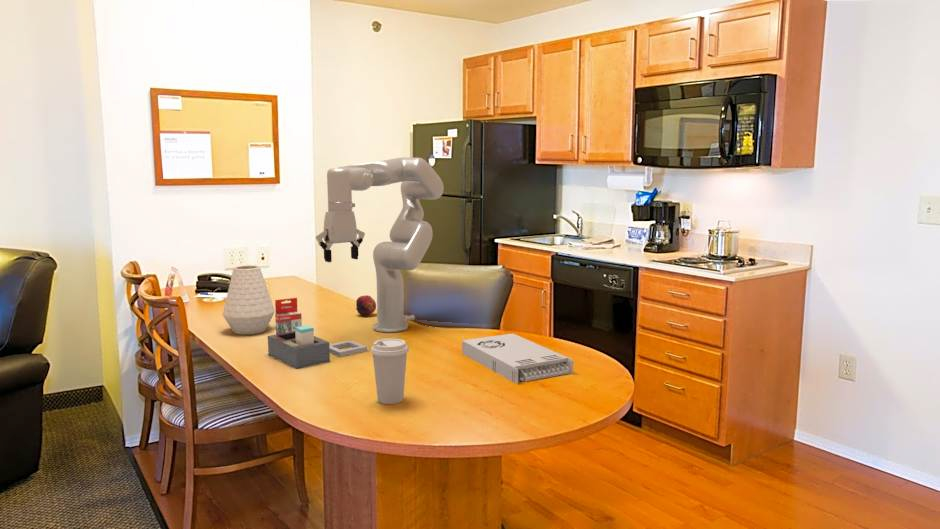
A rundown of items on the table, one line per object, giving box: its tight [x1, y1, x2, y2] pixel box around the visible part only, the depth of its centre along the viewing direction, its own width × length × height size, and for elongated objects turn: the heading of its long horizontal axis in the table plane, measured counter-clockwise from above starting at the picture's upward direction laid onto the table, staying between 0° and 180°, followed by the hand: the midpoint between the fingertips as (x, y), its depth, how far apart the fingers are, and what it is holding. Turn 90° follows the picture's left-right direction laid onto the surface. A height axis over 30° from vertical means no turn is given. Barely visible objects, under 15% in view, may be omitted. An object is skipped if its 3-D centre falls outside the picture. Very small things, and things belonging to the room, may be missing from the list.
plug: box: [295, 324, 315, 346], centre depth 200 cm, size 4×4×9 cm
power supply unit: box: [461, 333, 574, 385], centre depth 199 cm, size 19×33×5 cm, turn 28°
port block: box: [267, 331, 331, 370], centre depth 204 cm, size 11×19×6 cm, turn 41°
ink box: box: [274, 297, 303, 335], centre depth 221 cm, size 4×8×15 cm, turn 123°
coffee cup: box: [370, 338, 410, 405], centre depth 167 cm, size 10×10×15 cm
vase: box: [222, 264, 276, 336], centre depth 234 cm, size 18×17×23 cm
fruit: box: [355, 294, 377, 317], centre depth 259 cm, size 8×8×8 cm
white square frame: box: [329, 339, 368, 358], centre depth 212 cm, size 10×10×2 cm
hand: (341, 260), depth 214 cm, fingers open, 9 cm apart
